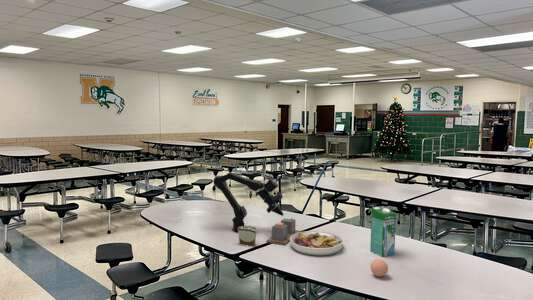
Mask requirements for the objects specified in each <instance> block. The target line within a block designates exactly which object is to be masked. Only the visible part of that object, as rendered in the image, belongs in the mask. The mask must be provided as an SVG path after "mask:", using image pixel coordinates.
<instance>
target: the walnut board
mask: <svg viewBox="0 0 533 300" xmlns="http://www.w3.org/2000/svg"><path fill="white" fill-rule="evenodd" d="M299 232H301V230H297V229H295V232H294V233H293V234H292V235H294V234H296V233H299ZM292 235H290V234H287V239H285V240H284V241H277V240H272V236H271V237H269V238H267V239H266V241H265V242H266V243H267V242H269V243H268V244H273V245H280V246H287V244H289V243H290V237H291V236H292Z"/></svg>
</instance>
